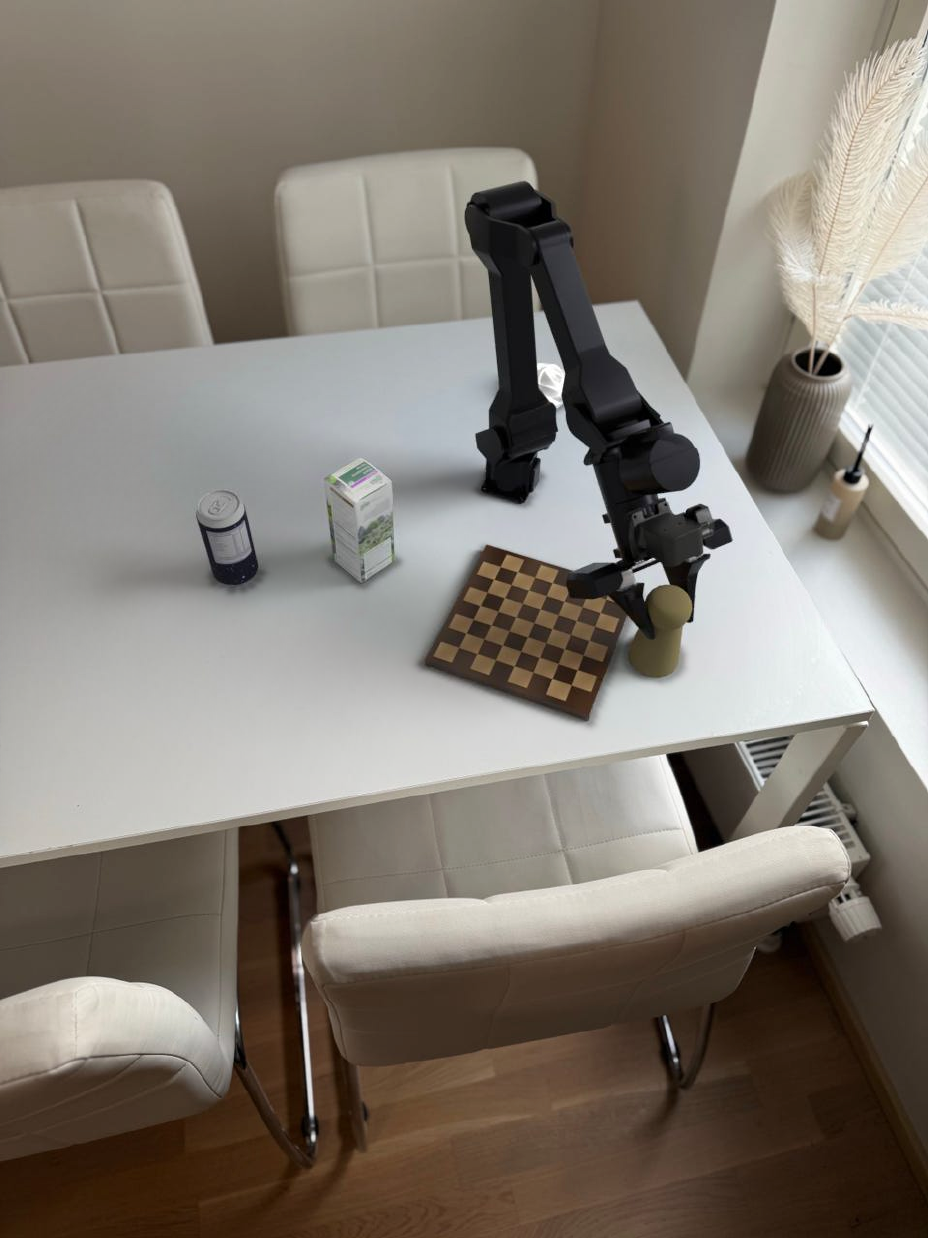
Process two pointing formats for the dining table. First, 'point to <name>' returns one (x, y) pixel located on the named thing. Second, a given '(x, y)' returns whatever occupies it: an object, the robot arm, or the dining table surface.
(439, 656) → the chessboard
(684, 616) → the chess pawn
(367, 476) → the syrup box
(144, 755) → the dining table surface
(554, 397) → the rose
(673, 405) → the dining table surface
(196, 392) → the dining table surface
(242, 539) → the beverage can
